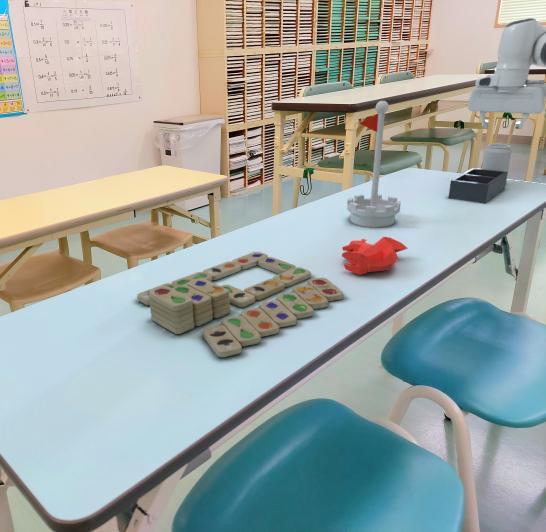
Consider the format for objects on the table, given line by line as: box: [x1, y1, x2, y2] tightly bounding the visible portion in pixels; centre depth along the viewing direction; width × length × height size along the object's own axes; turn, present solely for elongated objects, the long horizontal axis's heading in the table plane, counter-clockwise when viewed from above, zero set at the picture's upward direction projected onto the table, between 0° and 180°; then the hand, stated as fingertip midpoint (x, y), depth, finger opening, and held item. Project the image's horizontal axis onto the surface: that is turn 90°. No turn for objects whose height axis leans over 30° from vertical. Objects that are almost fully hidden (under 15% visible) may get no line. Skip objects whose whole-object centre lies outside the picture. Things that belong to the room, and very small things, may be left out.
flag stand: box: [346, 100, 402, 228], centre depth 130 cm, size 13×13×30 cm
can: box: [481, 143, 513, 173], centre depth 164 cm, size 8×8×12 cm
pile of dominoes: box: [136, 251, 344, 358], centre depth 95 cm, size 35×27×6 cm
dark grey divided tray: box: [448, 167, 509, 204], centre depth 154 cm, size 10×19×5 cm, turn 138°
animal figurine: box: [341, 236, 409, 276], centre depth 108 cm, size 12×15×5 cm
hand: (501, 127), depth 159 cm, fingers open, 8 cm apart
